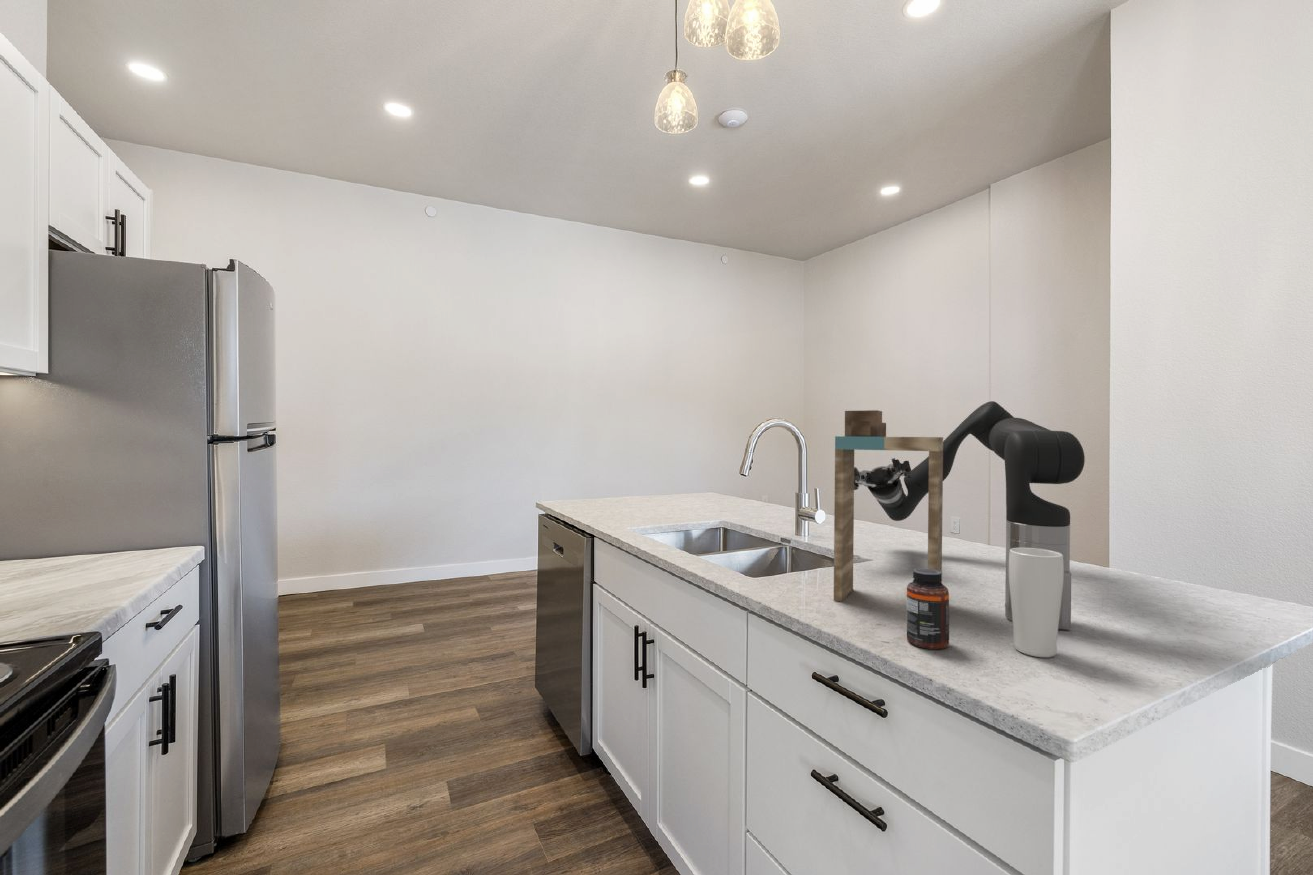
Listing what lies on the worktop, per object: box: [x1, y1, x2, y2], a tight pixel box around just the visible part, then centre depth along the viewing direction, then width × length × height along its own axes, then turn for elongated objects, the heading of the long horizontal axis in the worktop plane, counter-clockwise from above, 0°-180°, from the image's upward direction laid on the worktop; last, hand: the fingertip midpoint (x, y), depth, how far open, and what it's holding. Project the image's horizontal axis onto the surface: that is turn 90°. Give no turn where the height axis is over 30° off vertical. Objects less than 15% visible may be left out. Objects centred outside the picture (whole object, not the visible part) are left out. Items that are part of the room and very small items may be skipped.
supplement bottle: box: [906, 567, 950, 650], centre depth 86 cm, size 6×6×11 cm
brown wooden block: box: [844, 409, 887, 437], centre depth 114 cm, size 6×18×5 cm, turn 148°
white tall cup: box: [1009, 548, 1064, 659], centre depth 83 cm, size 7×7×15 cm
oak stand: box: [833, 435, 944, 602], centre depth 108 cm, size 18×10×32 cm, turn 58°
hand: (874, 466), depth 126 cm, fingers open, 8 cm apart
